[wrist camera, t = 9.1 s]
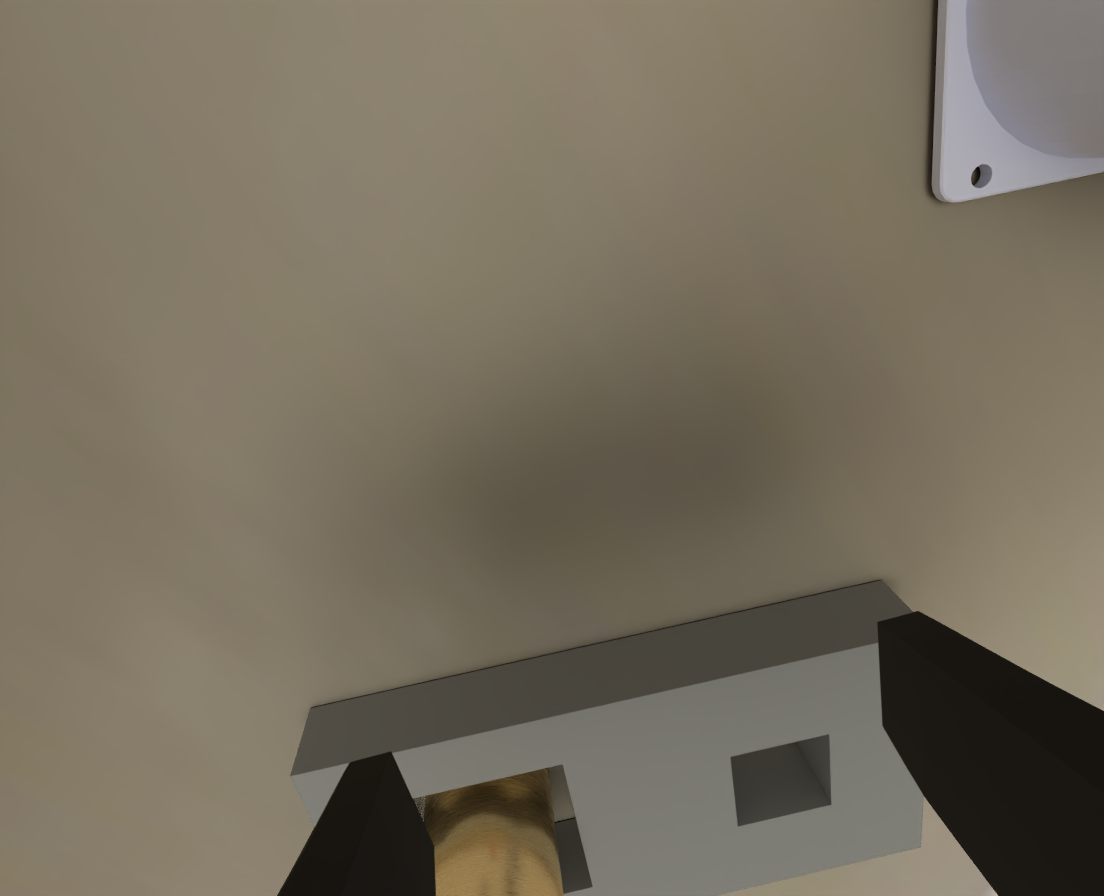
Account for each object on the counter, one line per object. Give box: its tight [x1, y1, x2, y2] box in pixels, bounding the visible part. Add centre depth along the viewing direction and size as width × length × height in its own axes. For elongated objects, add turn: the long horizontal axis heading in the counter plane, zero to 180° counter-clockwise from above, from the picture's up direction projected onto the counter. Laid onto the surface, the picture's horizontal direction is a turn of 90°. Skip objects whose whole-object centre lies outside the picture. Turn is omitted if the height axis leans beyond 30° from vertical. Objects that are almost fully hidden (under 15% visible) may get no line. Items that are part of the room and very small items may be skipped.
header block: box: [290, 580, 924, 896], centre depth 21 cm, size 18×9×2 cm, turn 101°
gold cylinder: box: [424, 768, 564, 896], centre depth 20 cm, size 4×4×6 cm
